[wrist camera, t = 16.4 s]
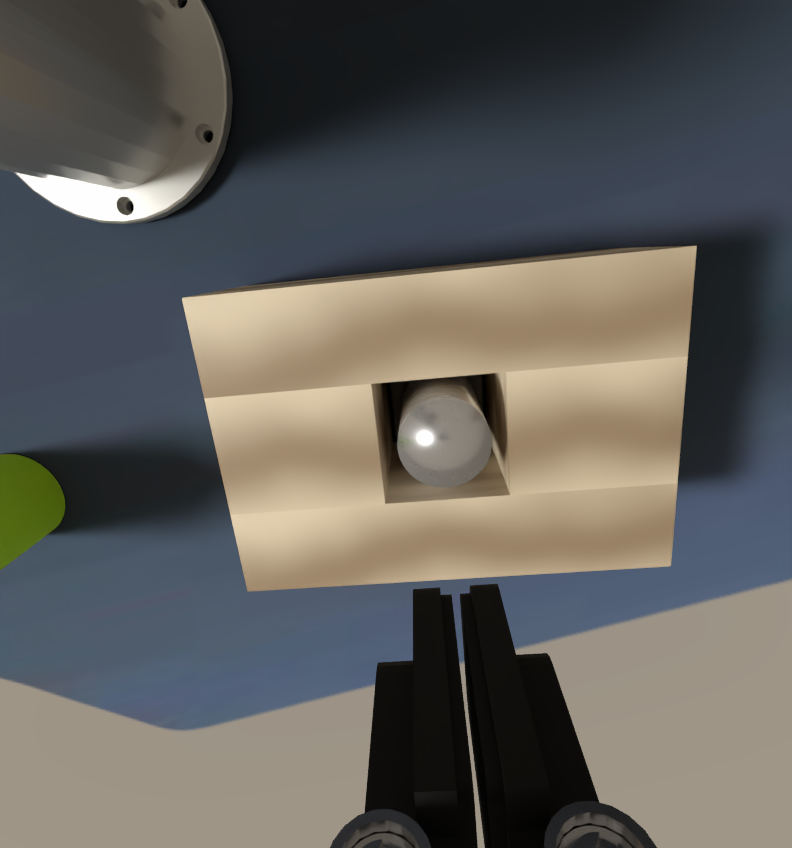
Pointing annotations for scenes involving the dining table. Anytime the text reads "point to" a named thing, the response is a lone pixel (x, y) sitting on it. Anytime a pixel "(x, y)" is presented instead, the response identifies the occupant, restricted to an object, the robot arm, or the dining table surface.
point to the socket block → (505, 415)
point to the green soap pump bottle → (26, 505)
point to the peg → (442, 432)
